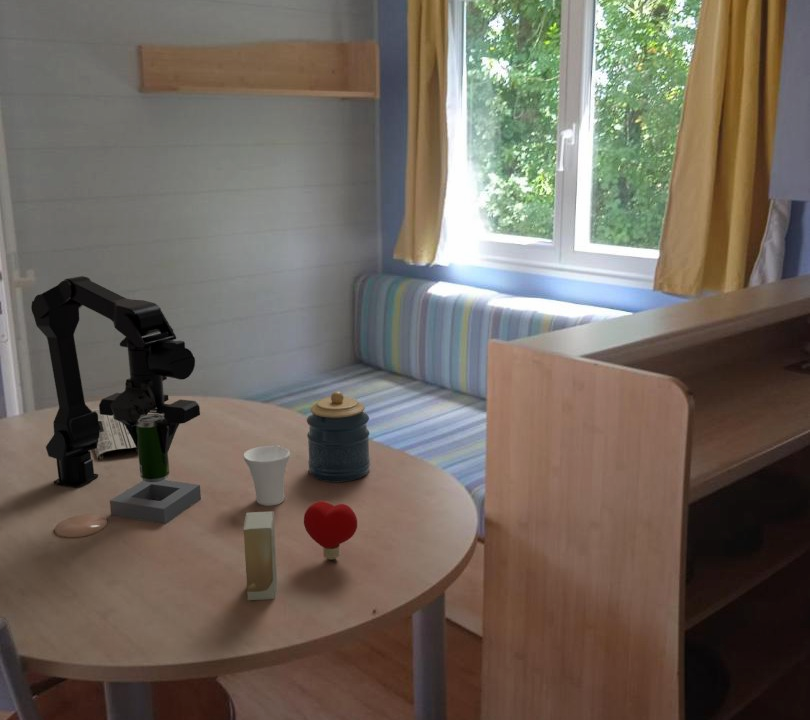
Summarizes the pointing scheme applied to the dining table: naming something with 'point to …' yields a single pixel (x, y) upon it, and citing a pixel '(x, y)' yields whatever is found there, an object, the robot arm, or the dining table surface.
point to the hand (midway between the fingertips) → (152, 450)
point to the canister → (338, 439)
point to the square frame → (143, 508)
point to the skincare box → (260, 555)
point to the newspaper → (112, 435)
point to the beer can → (151, 449)
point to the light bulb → (330, 526)
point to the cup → (268, 472)
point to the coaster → (80, 526)
